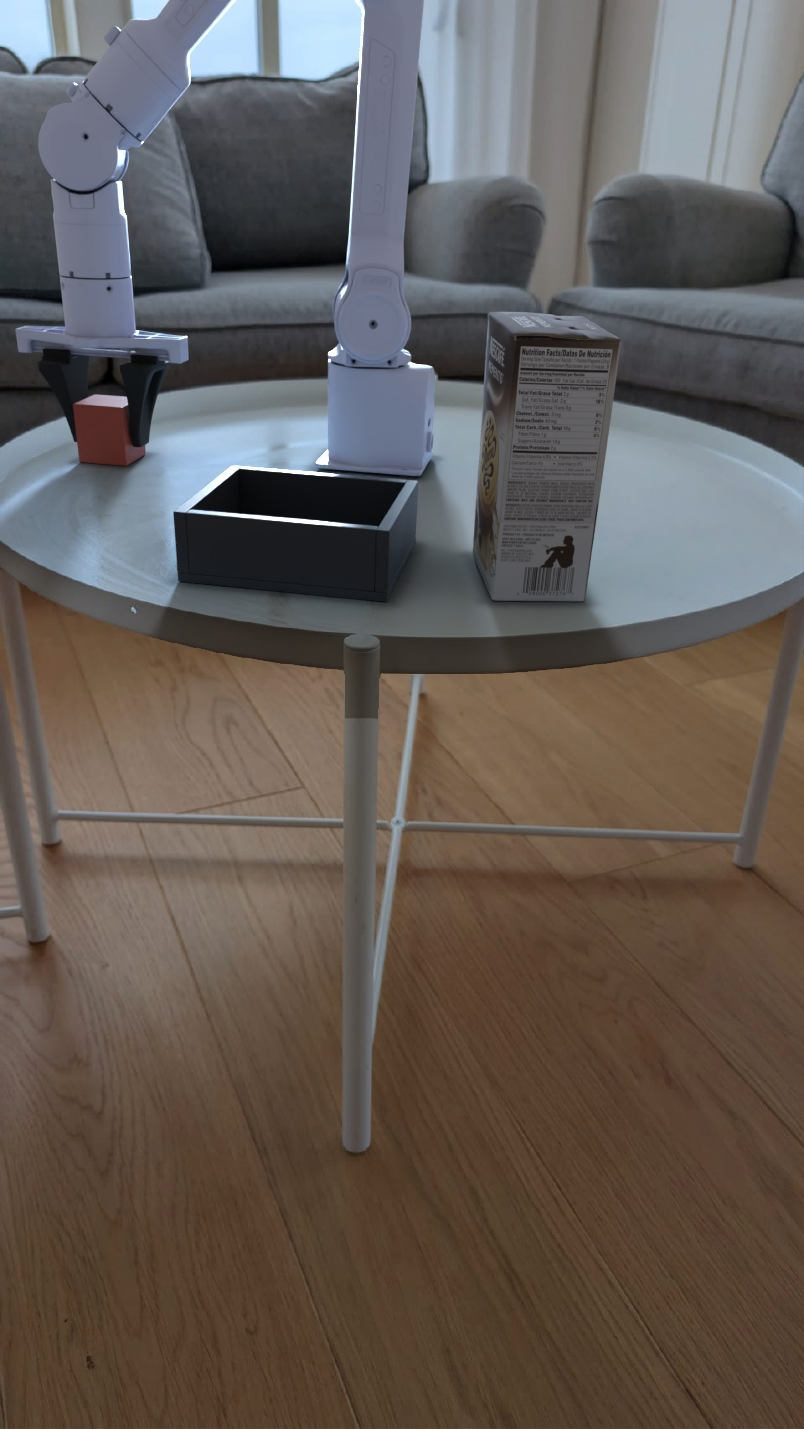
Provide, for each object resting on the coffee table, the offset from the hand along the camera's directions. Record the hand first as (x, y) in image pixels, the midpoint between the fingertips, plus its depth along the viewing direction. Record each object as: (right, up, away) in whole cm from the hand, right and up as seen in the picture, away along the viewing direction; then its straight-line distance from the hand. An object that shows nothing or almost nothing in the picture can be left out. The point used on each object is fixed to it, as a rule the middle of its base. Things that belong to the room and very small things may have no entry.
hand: (111, 442), depth 91 cm
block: (0, -1, +1) cm, 1 cm away
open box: (+19, -14, -21) cm, 32 cm away
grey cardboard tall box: (+34, -15, -22) cm, 43 cm away
